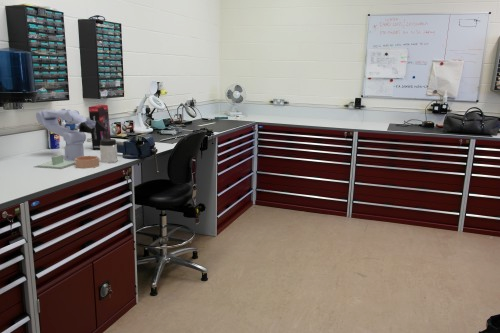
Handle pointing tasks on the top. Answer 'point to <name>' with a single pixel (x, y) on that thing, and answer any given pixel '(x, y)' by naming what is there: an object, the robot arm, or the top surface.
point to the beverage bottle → (70, 126)
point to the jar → (108, 150)
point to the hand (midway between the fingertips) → (98, 130)
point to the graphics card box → (102, 115)
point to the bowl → (87, 162)
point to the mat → (56, 168)
